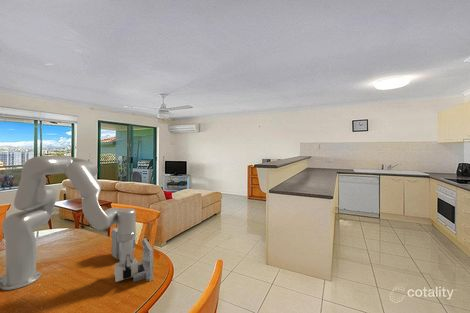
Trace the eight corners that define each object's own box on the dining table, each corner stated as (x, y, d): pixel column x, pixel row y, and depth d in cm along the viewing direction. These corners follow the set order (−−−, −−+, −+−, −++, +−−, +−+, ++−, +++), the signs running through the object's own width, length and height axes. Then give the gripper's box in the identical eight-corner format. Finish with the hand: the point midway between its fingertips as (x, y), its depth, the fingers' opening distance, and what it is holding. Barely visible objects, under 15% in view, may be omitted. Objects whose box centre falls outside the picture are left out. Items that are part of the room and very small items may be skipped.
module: (115, 282, 91) (115, 267, 91) (114, 276, 95) (114, 262, 95) (137, 275, 96) (137, 262, 96) (135, 270, 100) (136, 257, 100)
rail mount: (134, 286, 90) (134, 254, 90) (129, 269, 103) (129, 241, 103) (153, 280, 94) (153, 250, 94) (145, 264, 108) (145, 238, 107)
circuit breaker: (122, 263, 109) (122, 235, 108) (111, 255, 117) (111, 229, 117) (136, 257, 115) (136, 231, 114) (124, 250, 123) (124, 225, 123)
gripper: (115, 231, 100) (115, 268, 100) (119, 244, 86) (118, 287, 86) (132, 228, 104) (132, 264, 104) (138, 240, 90) (138, 281, 90)
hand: (126, 274), depth 95 cm, fingers closed on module, 5 cm apart
